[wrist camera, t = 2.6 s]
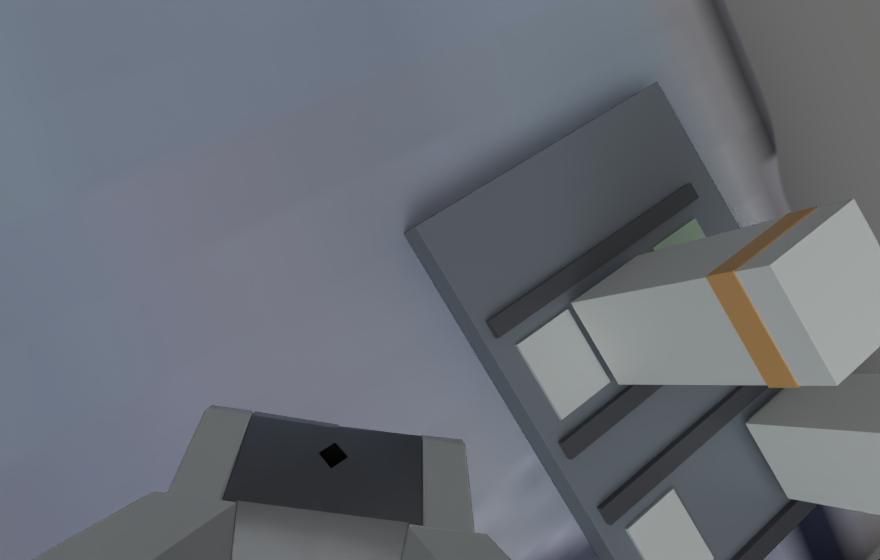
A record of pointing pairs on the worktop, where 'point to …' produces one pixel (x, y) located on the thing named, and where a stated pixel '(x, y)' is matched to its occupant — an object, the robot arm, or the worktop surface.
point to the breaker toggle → (745, 305)
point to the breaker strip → (637, 406)
